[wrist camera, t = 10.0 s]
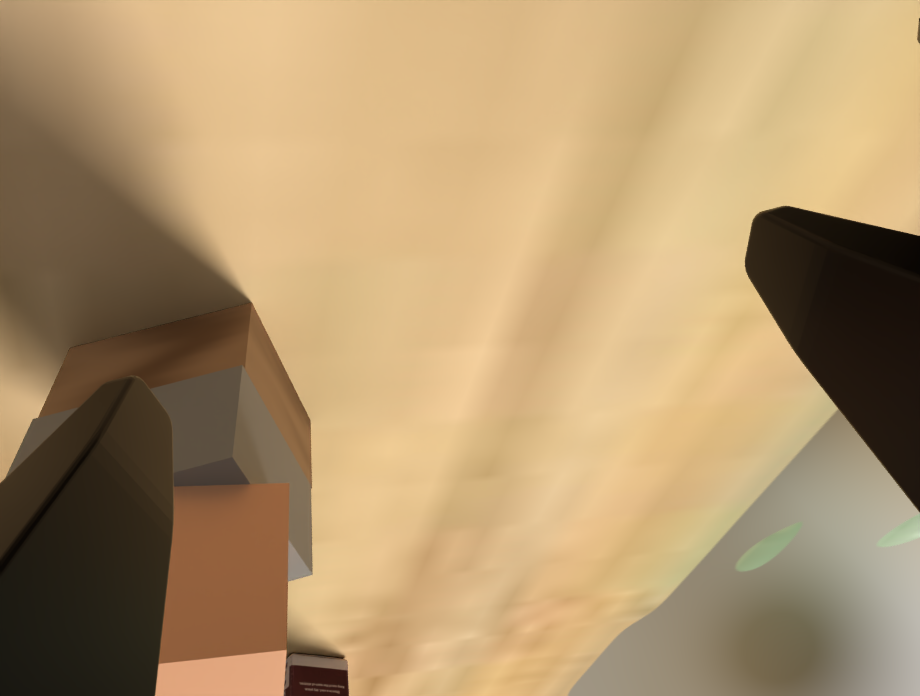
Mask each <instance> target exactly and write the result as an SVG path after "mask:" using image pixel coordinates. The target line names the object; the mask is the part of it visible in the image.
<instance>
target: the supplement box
mask: <svg viewBox="0 0 920 696" xmlns="http://www.w3.org/2000/svg"><path fill="white" fill-rule="evenodd" d="M284 696H349V689H348V664H347V660H345V659H340V658H333V657H325V656H316V655H306V654H295V653H293V654H291V655H290V656H289V657H288V658H287V659H286V667H285V681H284Z"/></svg>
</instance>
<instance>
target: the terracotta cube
mask: <svg viewBox="0 0 920 696" xmlns="http://www.w3.org/2000/svg"><path fill="white" fill-rule="evenodd" d="M288 539H289V483H271V484H240V485H208V486H176V487H174V525H173V537H172V547H171V556H170V565H169V574H168V584H167V593H166V602H165V611H164V620H163V629H162V638H161V648H160V657H159V666H158V675H157V684H156V693H155V696H284V681H285V667H286V652H287V600H288Z"/></svg>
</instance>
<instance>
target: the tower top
mask: <svg viewBox="0 0 920 696" xmlns="http://www.w3.org/2000/svg"><path fill="white" fill-rule="evenodd" d="M150 390H151V391H152V392H153V394H154V395H155V397H156V398H157V399H158V401H159V402H160V403H161V405H162V406H163V407H164V409H165V410H166V411H167V413H168V415H169V417H170V419H171V422H172V428H173V482H174V487H176V486H208V485H240V484H271V483H289V539H288V581H292V580H295V579H299V578H303V577H306V576H310V575H313V574H312V517H311V485H310V483H309V481H308V480H307V478H306V476H305V474H304V472H303V471H302V469H301V467H300V465H299V464H298V462H297V460H296V458H295V457H294V455H293V453H292V451H291V450H290V448H289V446H288V444H287V442H286V441H285V439H284V437H283V435H282V434H281V432H280V430H279V428H278V427H277V425H276V423H275V421H274V420H273V418H272V416H271V414H270V413H269V411H268V409H267V407H266V406H265V404H264V402H263V400H262V398H261V397H260V395H259V393H258V391H257V390H256V388H255V386H254V384H253V383H252V381H251V379H250V377H249V376H248V374H247V372H246V370H245V368H244V367H243V365H240V366H236V367H232V368H229V369H225V370H221V371H217V372H213V373H209V374H205V375H202V376H198V377H194V378H190V379H186V380H182V381H178V382H175V383H171V384H167V385H163V386H159V387H155V388H151V389H150ZM76 409H77V408H74V409H70V410H67V411H63V412H59V413H55V414H51V415H47V416H43V417H40V418H36V419H33V420H32V422H31V424H30V427H29V429H28V431H27V433H26V435H25V437H24V439H23V442H22V444H21V446H20V448H19V450H18V452H17V454H16V457H15V459H14V461H13V463H12V465H11V467H10V469H9V471H8V474H7V476H8V475H9V474H10V473H11V472H12V471H13V470H14V469H15V468H16V467H17V466H18V465H20V464H21V463H22V462H23V461H24V460H25V459H26V458H27V457H28V456H29V455H30V454H31V453H32V452H33V451H34V450H35V449H36V448H37V447H38V446H39V445H40V444H41V443H42V442H43V441H44V440H45V439H46V438H47V437H48V436H50V435H51V434H52V433H53V432H54V431H55V430H56V429H57V428H58V427H59V426H60V425H61V424H62V423H63V422H64V421H65V420H66V419H67V418H68V417H69V416H70V415H71V414H72V413H73V412H74V411H75V410H76ZM7 476H6V477H7Z"/></svg>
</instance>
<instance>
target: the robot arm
mask: <svg viewBox="0 0 920 696" xmlns="http://www.w3.org/2000/svg"><path fill="white" fill-rule="evenodd" d="M917 40H918V42H919V43H920V18H919V25H918V37H917ZM745 268H746V272H747V275H748V277H749V279H750V280H751V282H752V284H753V285H754V287H755V289H756V290H757V292H758V293H759V295H760V297H761V298H762V300H763V302H764V303H765V305H766V307H767V308H768V310H769V311H770V313H771V315H772V316H773V318H774V320H775V321H776V323H777V325H778V326H779V328H780V329H781V331H782V333H783V334H784V336H785V338H786V339H787V341H788V342H789V344H790V345H791V347H792V348H793V350H794V352H795V353H796V354H797V356H798V357H799V359H800V360H801V361H802V363H803V364H804V365H805V367H806V368H807V369H808V371H809V372H810V373H811V374H812V376H813V377H814V378H815V379H816V381H817V382H818V383H819V385H820V386H821V387H822V388H823V390H824V391H825V392H826V394H827V395H828V396H829V397H830V399H831V400H832V401H833V402H834V404H835V405H836V406H837V408H838V409H839V410H840V411H841V413H842V414H843V415H844V416H845V418H846V419H847V420H848V422H849V423H850V424H851V425H852V427H853V428H854V429H855V431H856V432H857V433H858V434H859V436H860V437H861V438H862V439H863V441H864V442H865V443H866V445H867V446H868V447H869V448H870V450H871V451H872V452H873V453H874V455H875V456H876V457H877V459H878V460H879V461H880V462H881V464H882V465H883V466H884V468H885V469H886V470H887V471H888V473H889V474H890V475H891V476H892V478H893V479H894V480H895V482H896V483H897V484H898V485H899V487H900V488H901V489H902V491H903V492H904V493H905V494H906V496H907V497H908V498H909V499H910V501H911V502H912V503H913V505H914V506H915V507H916V508H917V510H918V511H919V512H920V236H917V235H913V234H909V233H904V232H900V231H896V230H891V229H887V228H882V227H878V226H874V225H869V224H865V223H861V222H856V221H852V220H847V219H843V218H839V217H834V216H830V215H826V214H821V213H817V212H813V211H808V210H804V209H799V208H795V207H791V206H781V207H777V208H773V209H769V210H766V211H762V212H760V213H758V214H757V215H756V216H755V218H754V219H753V222H752V226H751V231H750V236H749V241H748V247H747V252H746V257H745ZM173 525H174V482H173V428H172V422H171V419H170V417H169V415H168V413H167V411H166V410H165V409H164V407H163V406H162V405H161V403H160V402H159V401H158V399H157V398H156V397H155V395H154V394H153V392H152V391H151V390H150V388H149V387H148V386H147V384H146V383H145V382H144V381H143V380H142V379H141V378H140V377H138V376H134V375H130V376H127V377H123V378H119V379H115V380H111V381H108V382H106V383H104V384H102V385H101V386H100V387H99V388H98V389H97V390H96V391H95V392H94V393H93V394H92V395H91V396H90V397H89V398H88V399H87V400H86V401H85V402H84V403H83V404H82V405H81V406H80V407H78V408H77V409H76V410H75V411H74V412H73V413H72V414H71V415H70V416H69V417H68V418H67V419H66V420H65V421H64V422H63V423H62V424H61V425H60V426H59V427H58V428H57V429H56V430H55V431H54V432H53V433H52V434H51V435H50V436H48V437H47V438H46V439H45V440H44V441H43V442H42V443H41V444H40V445H39V446H38V447H37V448H36V449H35V450H34V451H33V452H32V453H31V454H30V455H29V456H28V457H27V458H26V459H25V460H24V461H23V462H22V463H21V464H20V465H18V466H17V467H16V468H15V469H14V470H13V471H12V472H11V473H10V474H9V475H8V476H7V477H6V478H5V479H4V480H3V481H2V482H1V483H0V696H155V693H156V684H157V675H158V666H159V657H160V648H161V638H162V629H163V620H164V611H165V602H166V593H167V584H168V574H169V565H170V556H171V547H172V537H173Z"/></svg>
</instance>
